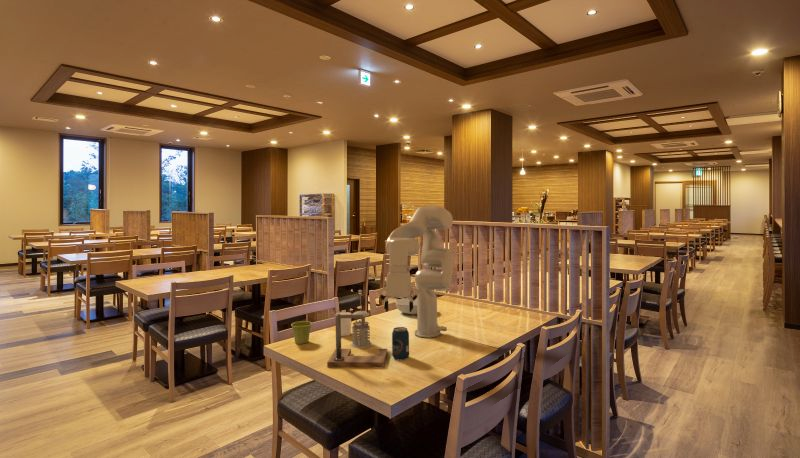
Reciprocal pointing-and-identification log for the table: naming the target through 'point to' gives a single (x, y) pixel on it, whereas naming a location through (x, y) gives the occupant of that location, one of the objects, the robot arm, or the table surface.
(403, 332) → the soda can
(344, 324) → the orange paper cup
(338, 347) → the knobbed metal rod
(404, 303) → the serving bowl
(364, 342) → the french press
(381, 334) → the table surface
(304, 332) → the plant pot
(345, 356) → the u-shaped wooden block
